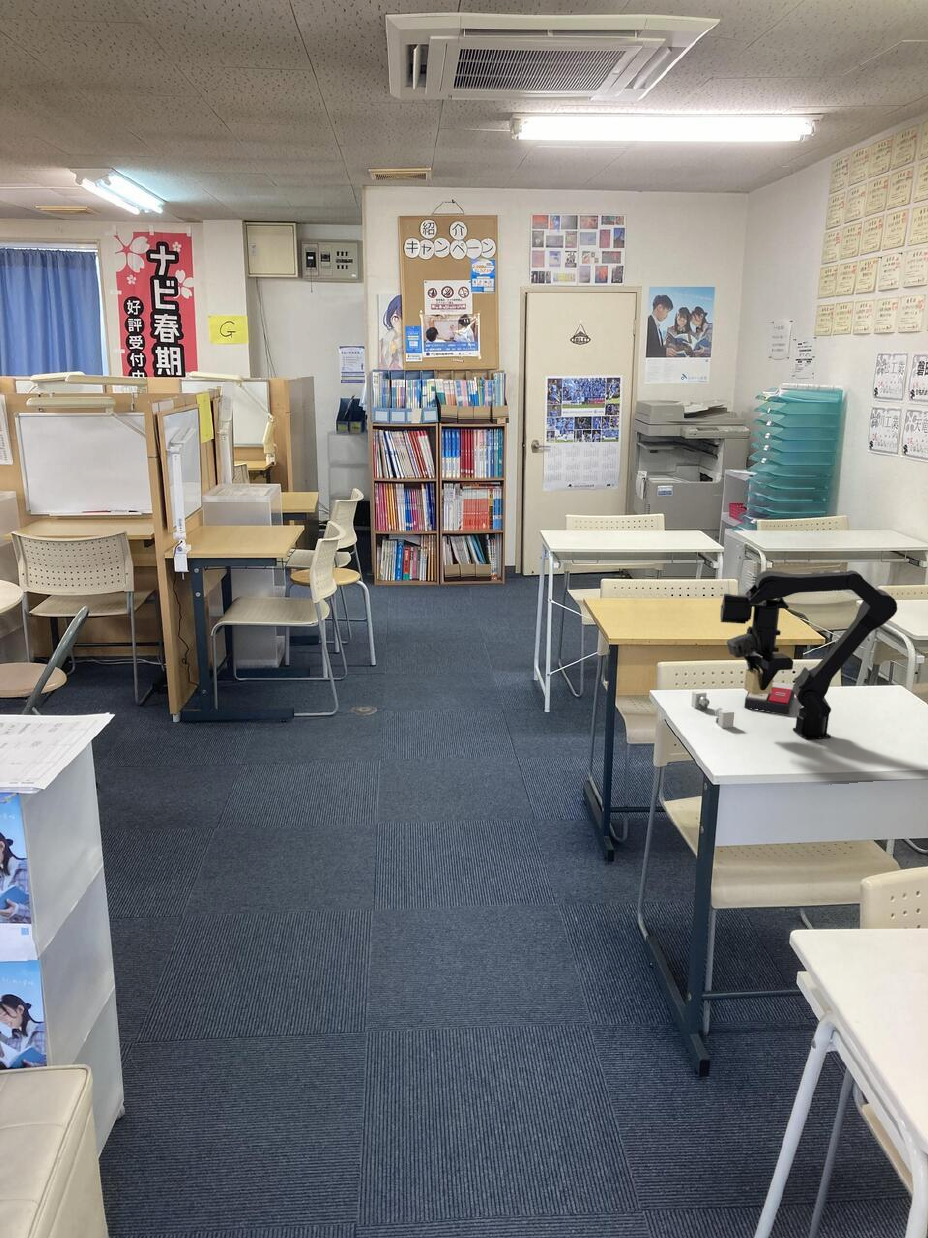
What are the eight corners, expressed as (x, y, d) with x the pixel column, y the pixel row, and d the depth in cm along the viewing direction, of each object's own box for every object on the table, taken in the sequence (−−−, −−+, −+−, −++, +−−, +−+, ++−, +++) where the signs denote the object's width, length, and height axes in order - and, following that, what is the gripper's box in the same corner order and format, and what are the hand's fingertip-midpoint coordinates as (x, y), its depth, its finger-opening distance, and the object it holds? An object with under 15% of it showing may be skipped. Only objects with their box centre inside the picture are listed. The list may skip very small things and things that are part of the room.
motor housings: (701, 704, 242) (703, 690, 241) (732, 727, 227) (734, 711, 226) (691, 705, 241) (692, 691, 240) (721, 728, 226) (723, 712, 225)
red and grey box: (745, 696, 239) (753, 677, 252) (743, 711, 240) (752, 691, 253) (789, 703, 235) (796, 683, 248) (787, 718, 236) (794, 698, 249)
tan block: (744, 688, 224) (746, 667, 223) (763, 688, 225) (765, 666, 224) (752, 694, 220) (754, 672, 219) (771, 693, 221) (773, 671, 220)
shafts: (704, 707, 240) (705, 695, 239) (727, 724, 229) (728, 711, 228) (696, 708, 239) (697, 695, 238) (719, 725, 228) (720, 712, 227)
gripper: (715, 615, 226) (710, 676, 230) (752, 636, 208) (746, 702, 212) (757, 614, 228) (751, 674, 232) (797, 635, 210) (790, 699, 214)
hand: (758, 687), depth 223 cm, fingers closed on tan block, 4 cm apart
